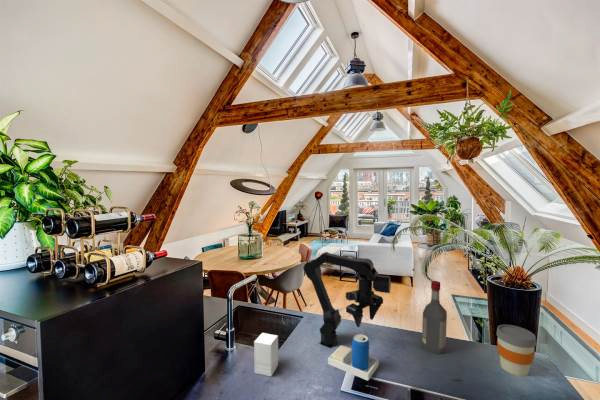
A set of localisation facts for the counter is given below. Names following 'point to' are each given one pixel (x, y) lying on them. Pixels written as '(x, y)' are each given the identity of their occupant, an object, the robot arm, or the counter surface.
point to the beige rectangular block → (343, 354)
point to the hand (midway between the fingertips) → (364, 323)
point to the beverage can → (360, 352)
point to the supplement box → (266, 354)
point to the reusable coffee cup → (515, 349)
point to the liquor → (434, 323)
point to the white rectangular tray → (350, 369)
